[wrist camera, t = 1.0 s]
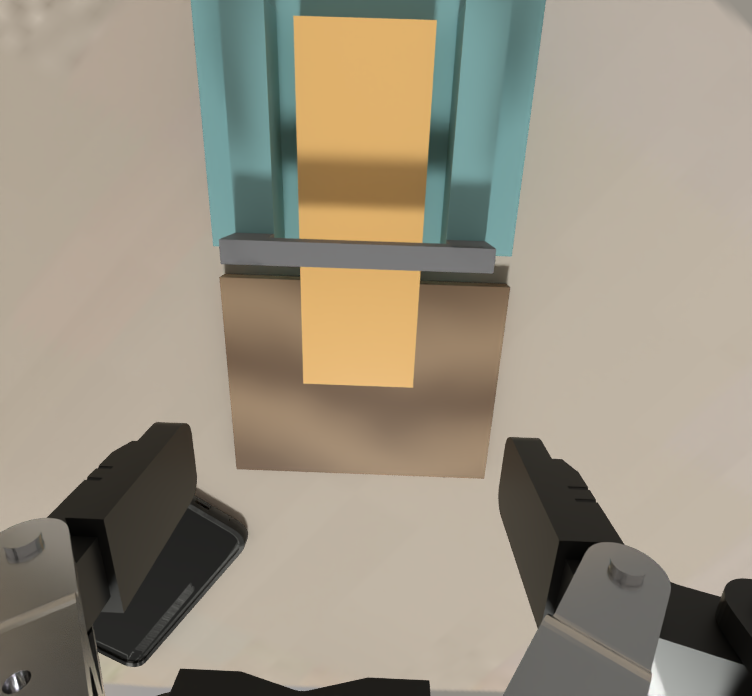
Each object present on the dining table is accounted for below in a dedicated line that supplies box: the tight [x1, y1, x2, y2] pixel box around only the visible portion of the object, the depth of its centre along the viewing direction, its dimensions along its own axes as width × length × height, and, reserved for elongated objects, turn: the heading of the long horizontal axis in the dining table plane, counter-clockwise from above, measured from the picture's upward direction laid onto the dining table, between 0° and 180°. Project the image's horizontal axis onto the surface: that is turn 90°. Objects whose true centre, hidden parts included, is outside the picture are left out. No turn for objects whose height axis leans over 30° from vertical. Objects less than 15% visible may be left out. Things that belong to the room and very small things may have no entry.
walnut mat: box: [220, 274, 510, 479], centre depth 25 cm, size 11×14×1 cm
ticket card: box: [293, 16, 437, 388], centre depth 18 cm, size 13×5×1 cm, turn 178°
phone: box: [93, 495, 248, 667], centre depth 30 cm, size 8×1×15 cm
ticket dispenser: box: [191, 0, 546, 274], centre depth 17 cm, size 10×12×8 cm
